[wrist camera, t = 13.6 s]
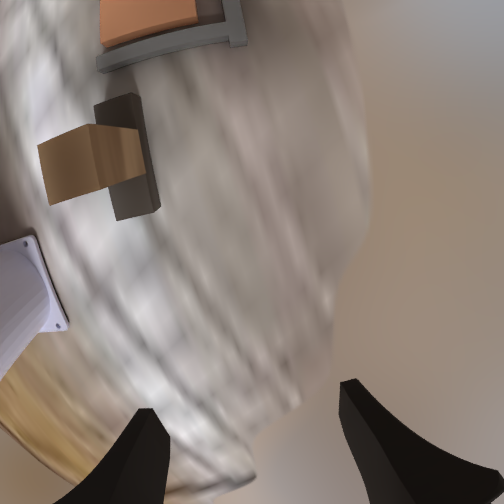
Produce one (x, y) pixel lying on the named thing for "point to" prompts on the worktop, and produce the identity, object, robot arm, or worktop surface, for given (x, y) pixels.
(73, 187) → the two-tone stacked blocks
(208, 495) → the worktop surface
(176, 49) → the frame
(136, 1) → the tile
